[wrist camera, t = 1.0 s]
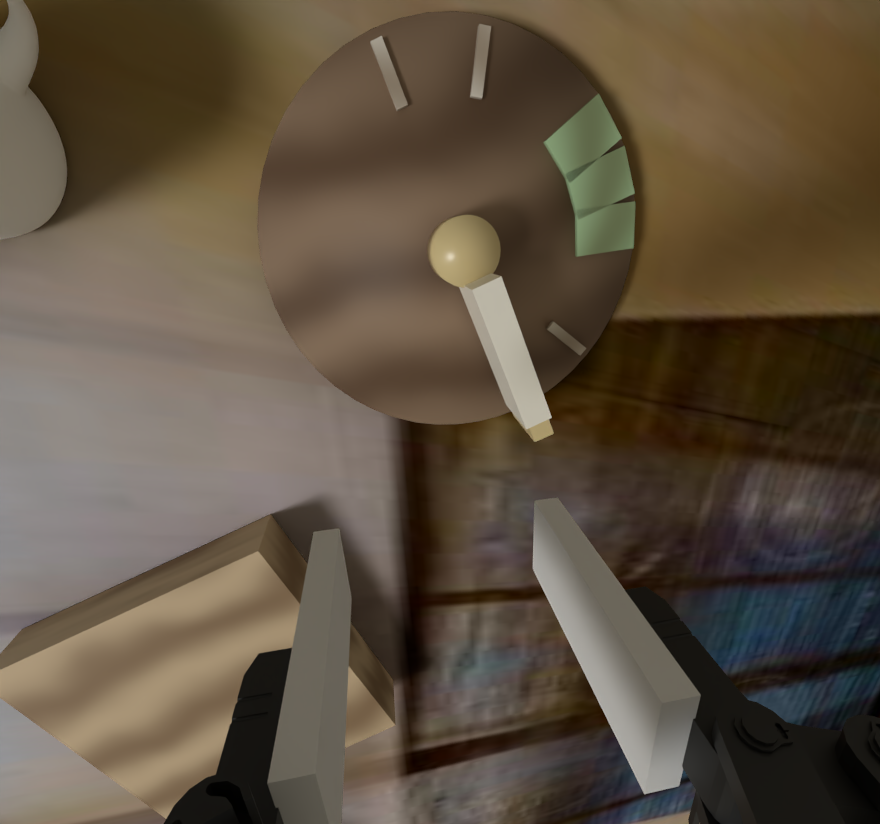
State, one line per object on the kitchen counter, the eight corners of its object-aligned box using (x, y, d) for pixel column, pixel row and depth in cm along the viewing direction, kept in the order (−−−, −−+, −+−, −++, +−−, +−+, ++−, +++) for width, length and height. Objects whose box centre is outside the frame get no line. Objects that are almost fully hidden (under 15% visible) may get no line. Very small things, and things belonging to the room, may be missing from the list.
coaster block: (21, 629, 32) (-24, 680, 28) (270, 514, 31) (257, 550, 28) (192, 770, 40) (174, 824, 36) (392, 679, 39) (395, 725, 36)
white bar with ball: (416, 233, 25) (426, 232, 21) (475, 205, 25) (496, 199, 21) (495, 421, 30) (516, 450, 26) (544, 398, 30) (572, 424, 26)
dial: (177, 132, 23) (165, 126, 21) (568, -57, 22) (581, -76, 21) (372, 467, 31) (372, 477, 30) (655, 336, 31) (669, 340, 30)
